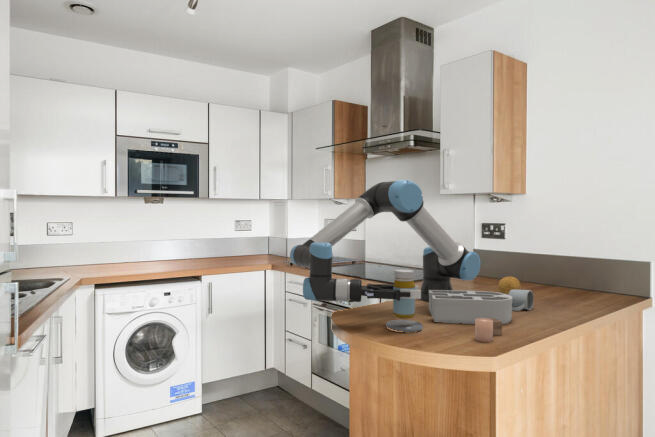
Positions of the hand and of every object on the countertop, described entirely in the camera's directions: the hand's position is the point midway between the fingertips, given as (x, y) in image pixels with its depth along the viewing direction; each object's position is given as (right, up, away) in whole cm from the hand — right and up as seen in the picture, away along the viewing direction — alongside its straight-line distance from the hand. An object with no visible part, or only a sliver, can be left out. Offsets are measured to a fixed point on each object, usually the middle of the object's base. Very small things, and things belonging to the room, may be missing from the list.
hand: (419, 292), depth 142 cm
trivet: (-5, -12, +1) cm, 13 cm away
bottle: (-5, -8, +1) cm, 10 cm away
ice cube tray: (+21, -12, +14) cm, 28 cm away
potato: (+51, -11, +52) cm, 74 cm away
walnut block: (+22, -12, -5) cm, 25 cm away
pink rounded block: (+17, -12, -12) cm, 24 cm away
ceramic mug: (+46, -12, +29) cm, 55 cm away
